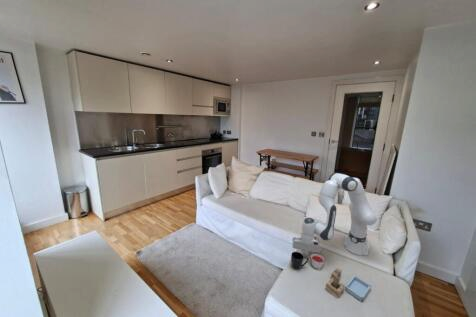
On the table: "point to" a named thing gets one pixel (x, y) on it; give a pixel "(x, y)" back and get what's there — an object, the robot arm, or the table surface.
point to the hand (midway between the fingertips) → (305, 254)
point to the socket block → (332, 289)
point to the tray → (357, 288)
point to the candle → (317, 260)
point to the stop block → (336, 273)
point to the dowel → (336, 281)
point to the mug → (297, 260)
